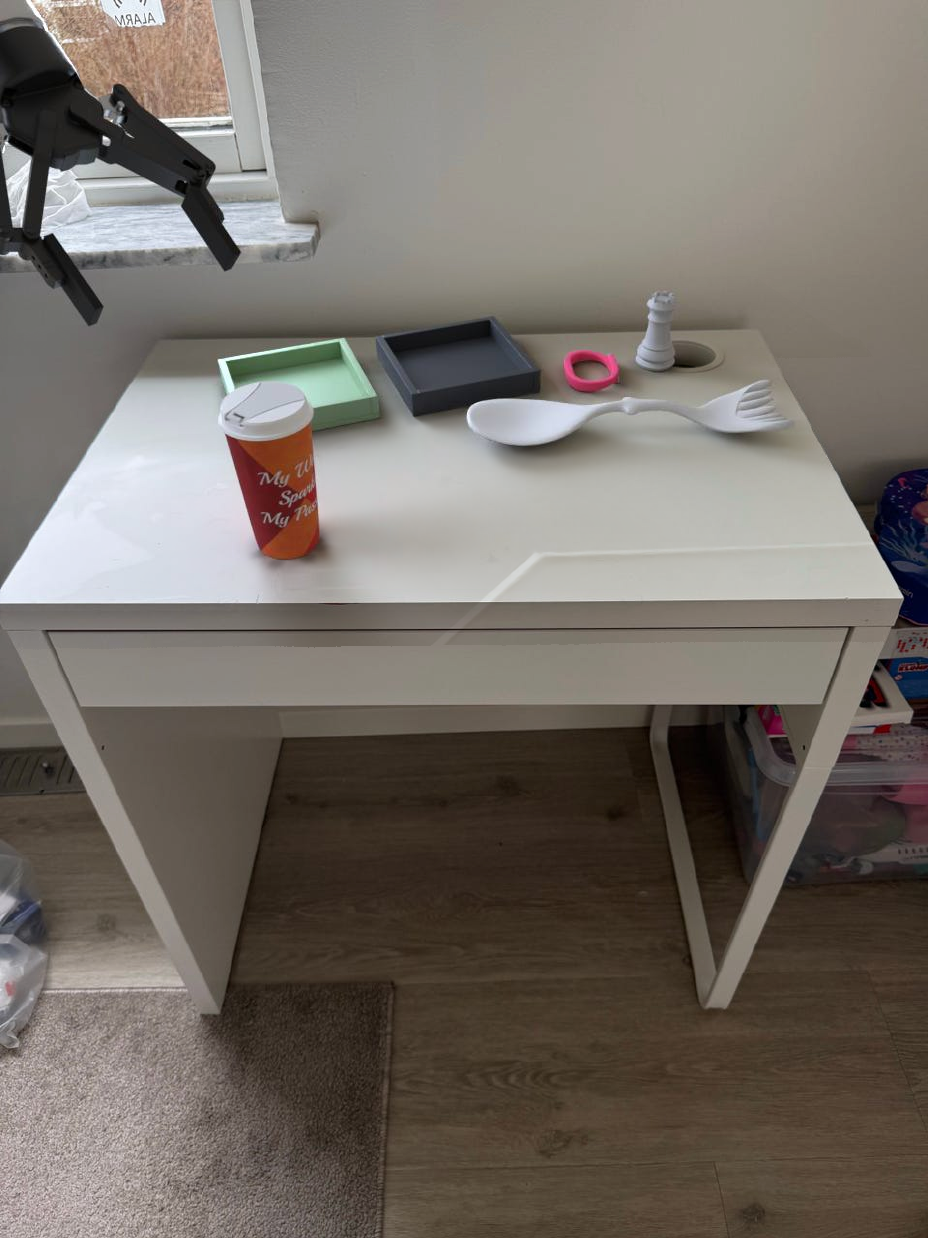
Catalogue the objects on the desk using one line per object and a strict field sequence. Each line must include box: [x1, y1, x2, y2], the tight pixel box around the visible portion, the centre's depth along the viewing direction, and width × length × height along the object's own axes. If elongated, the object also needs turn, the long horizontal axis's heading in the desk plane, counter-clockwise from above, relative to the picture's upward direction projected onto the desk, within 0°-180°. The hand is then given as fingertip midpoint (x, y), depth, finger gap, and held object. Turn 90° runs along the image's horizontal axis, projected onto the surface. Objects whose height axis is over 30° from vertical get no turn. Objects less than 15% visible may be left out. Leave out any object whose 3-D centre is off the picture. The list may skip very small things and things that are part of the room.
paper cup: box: [217, 382, 320, 560], centre depth 80 cm, size 8×8×14 cm
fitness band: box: [563, 349, 620, 392], centre depth 106 cm, size 8×6×2 cm
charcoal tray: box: [375, 315, 542, 417], centre depth 106 cm, size 15×15×3 cm
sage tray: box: [217, 337, 381, 432], centre depth 103 cm, size 15×15×3 cm
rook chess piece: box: [635, 290, 678, 372], centre depth 105 cm, size 4×4×8 cm
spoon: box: [466, 379, 794, 447], centre depth 96 cm, size 9×32×4 cm, turn 91°
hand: (168, 288), depth 78 cm, fingers open, 13 cm apart
